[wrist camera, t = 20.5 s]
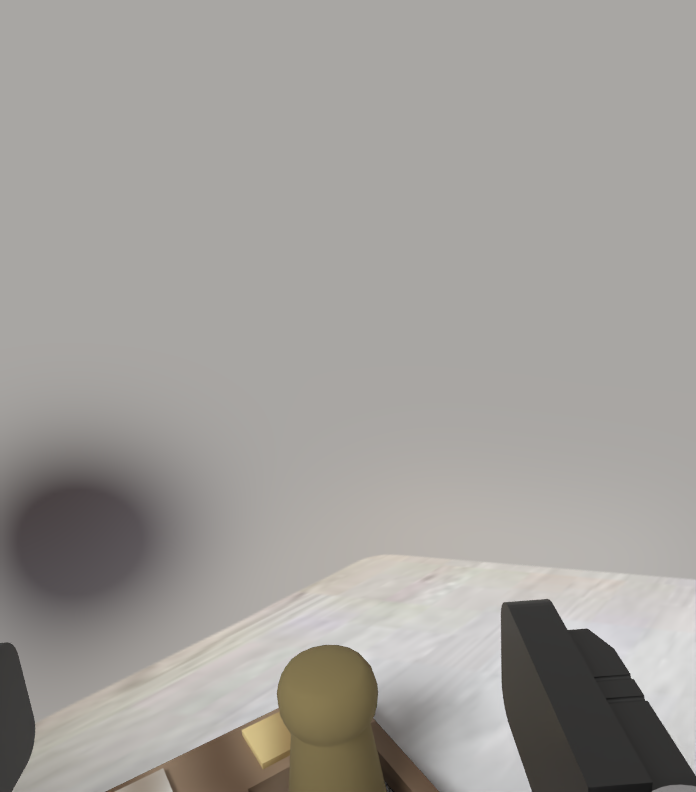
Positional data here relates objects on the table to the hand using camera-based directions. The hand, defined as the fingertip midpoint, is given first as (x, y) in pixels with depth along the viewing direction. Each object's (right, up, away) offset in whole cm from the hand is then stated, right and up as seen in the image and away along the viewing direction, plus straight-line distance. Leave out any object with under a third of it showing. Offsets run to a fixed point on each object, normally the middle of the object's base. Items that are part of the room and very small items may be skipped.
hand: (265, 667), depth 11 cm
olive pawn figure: (+1, -20, +25) cm, 32 cm away
